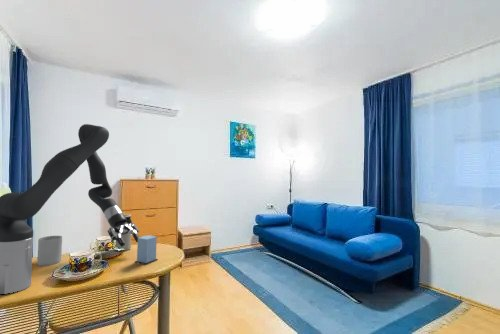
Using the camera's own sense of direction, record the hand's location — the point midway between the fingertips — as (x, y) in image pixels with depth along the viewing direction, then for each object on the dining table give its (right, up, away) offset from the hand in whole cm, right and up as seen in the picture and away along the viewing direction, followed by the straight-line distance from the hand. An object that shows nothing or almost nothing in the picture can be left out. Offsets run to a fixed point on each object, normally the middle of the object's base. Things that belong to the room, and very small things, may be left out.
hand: (131, 243), depth 120 cm
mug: (-34, -6, -7) cm, 35 cm away
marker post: (+9, -7, -4) cm, 12 cm away
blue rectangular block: (+9, -7, -4) cm, 12 cm away
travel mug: (-11, -7, +13) cm, 18 cm away
